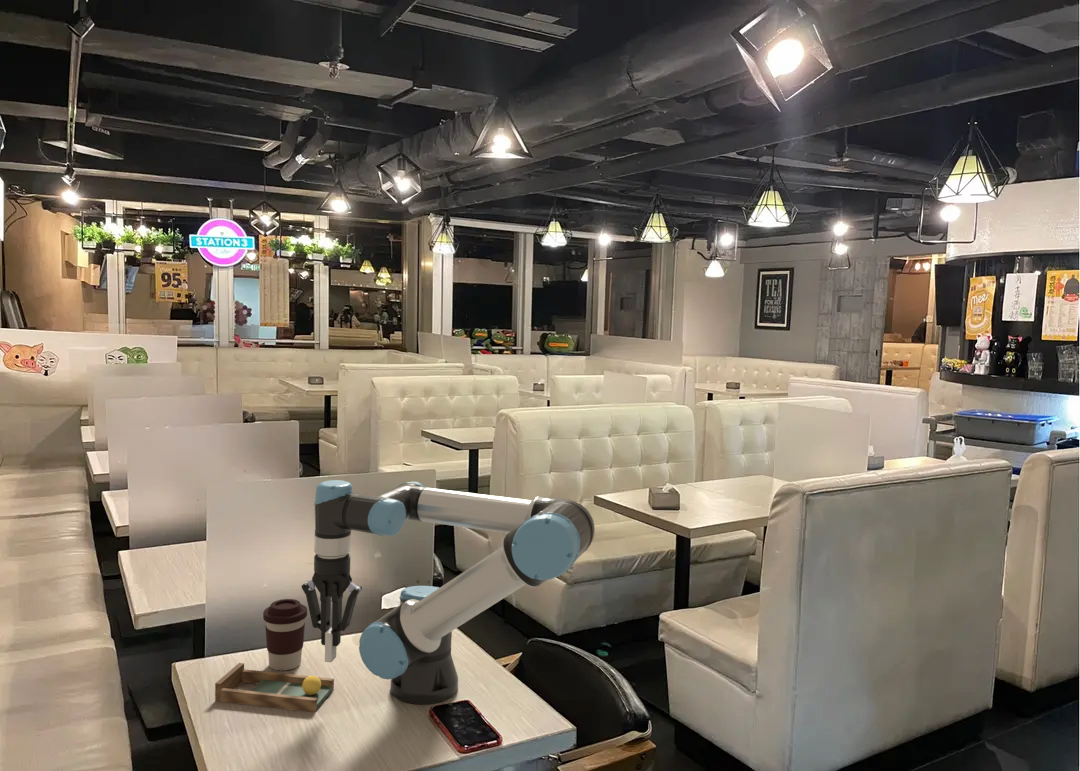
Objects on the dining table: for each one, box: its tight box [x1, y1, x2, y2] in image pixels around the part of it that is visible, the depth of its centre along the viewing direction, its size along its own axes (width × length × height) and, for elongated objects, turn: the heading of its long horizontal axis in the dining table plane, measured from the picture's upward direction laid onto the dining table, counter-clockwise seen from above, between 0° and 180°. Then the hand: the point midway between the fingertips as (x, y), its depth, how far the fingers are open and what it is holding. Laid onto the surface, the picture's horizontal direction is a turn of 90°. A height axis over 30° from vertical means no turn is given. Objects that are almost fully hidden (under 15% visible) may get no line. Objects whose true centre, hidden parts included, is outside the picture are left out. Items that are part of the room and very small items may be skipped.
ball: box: [302, 675, 321, 695], centre depth 171 cm, size 4×4×4 cm
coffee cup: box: [262, 598, 308, 672], centre depth 187 cm, size 10×10×15 cm
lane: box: [214, 662, 335, 713], centre depth 173 cm, size 23×10×4 cm, turn 82°
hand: (330, 659), depth 170 cm, fingers closed
